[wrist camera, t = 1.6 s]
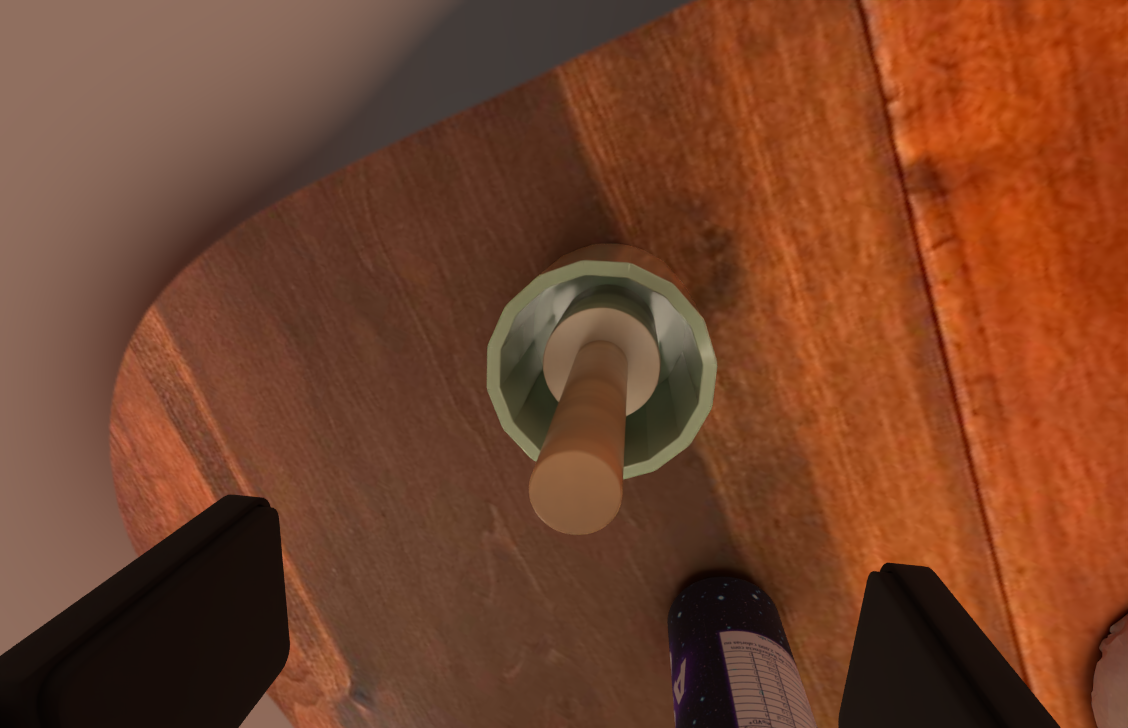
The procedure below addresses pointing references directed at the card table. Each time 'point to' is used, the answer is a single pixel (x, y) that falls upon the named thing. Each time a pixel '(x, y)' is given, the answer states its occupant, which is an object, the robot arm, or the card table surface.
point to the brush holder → (680, 338)
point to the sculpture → (1112, 679)
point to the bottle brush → (593, 406)
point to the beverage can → (732, 660)
